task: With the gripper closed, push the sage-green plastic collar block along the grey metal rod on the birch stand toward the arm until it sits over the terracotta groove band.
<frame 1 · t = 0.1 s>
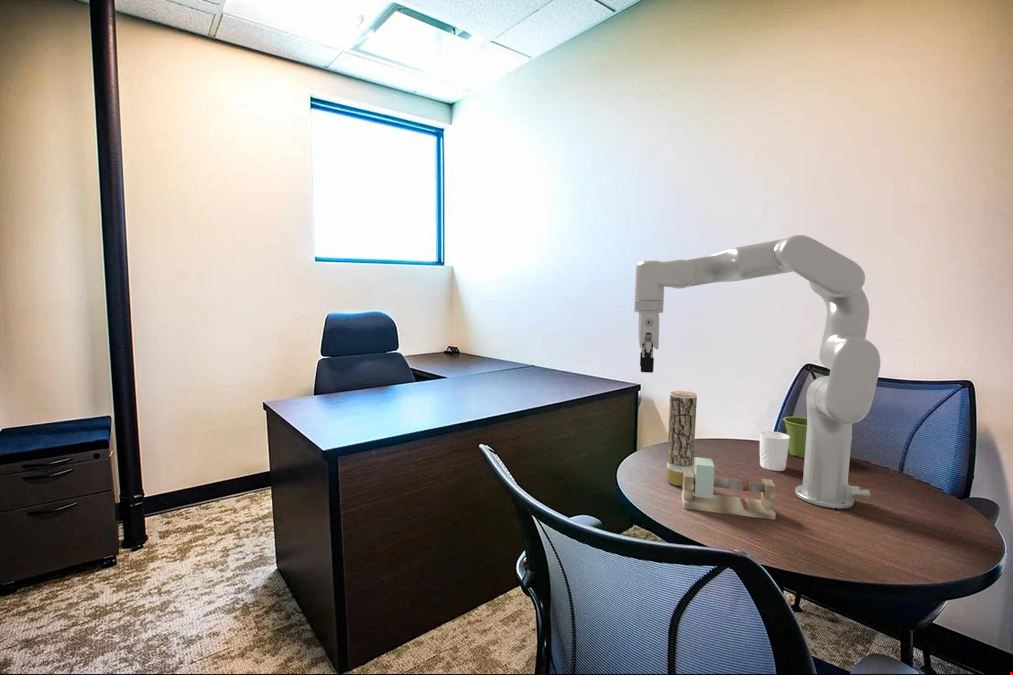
hand: (646, 369, 134), 31 cm above the table, tool pointing down, fingers open, 9 cm apart
collar: (703, 477, 120), point 7 cm above the table, slide at 0.0 cm
rod stand: (726, 507, 119), on the table
paper tube: (679, 483, 134), on the table
white cup: (772, 467, 147), on the table
plant pot: (801, 455, 158), on the table
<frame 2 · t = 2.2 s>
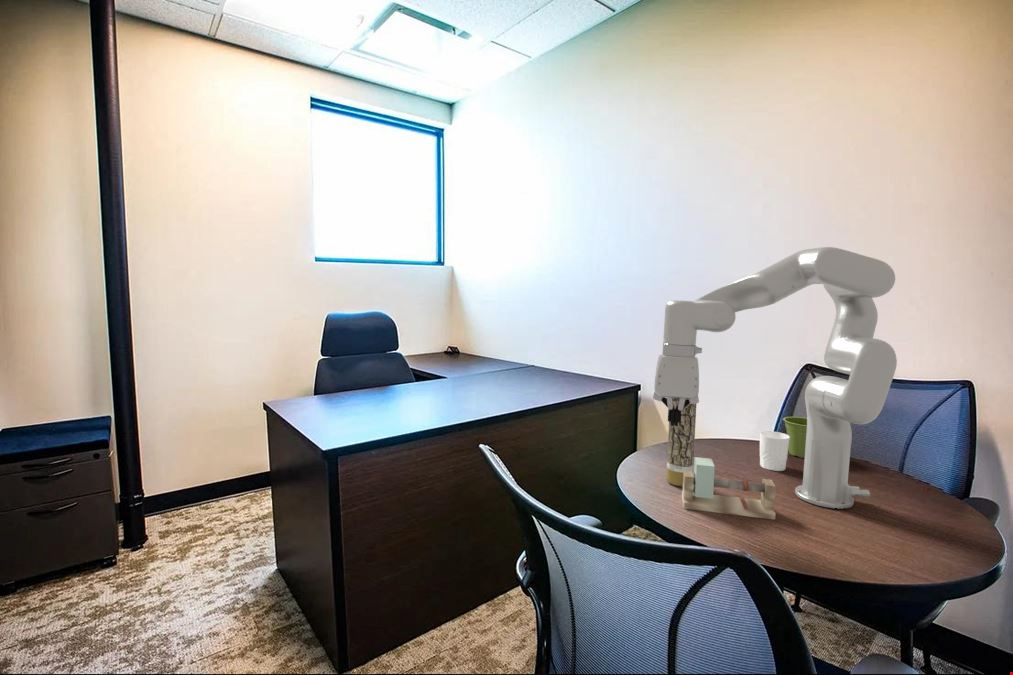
hand: (673, 424, 120), 20 cm above the table, tool pointing down, fingers closed
nothing on the table moved.
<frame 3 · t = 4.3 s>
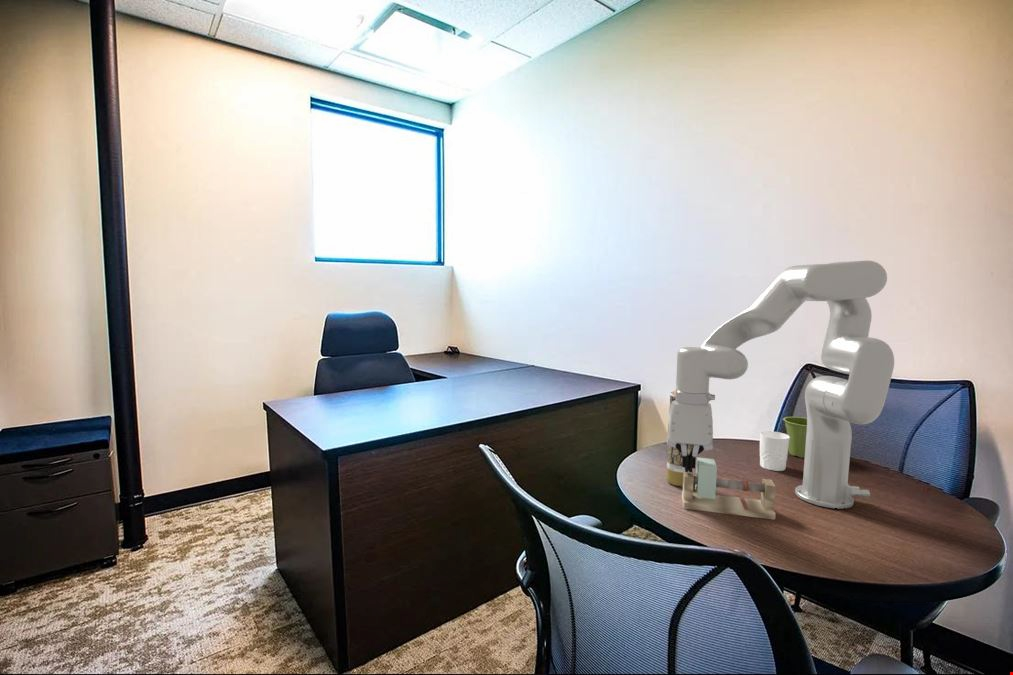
hand: (688, 470, 121), 8 cm above the table, tool pointing down, fingers closed
collar: (705, 477, 120), point 7 cm above the table, slide at 0.5 cm, touching gripper
everything else where it was.
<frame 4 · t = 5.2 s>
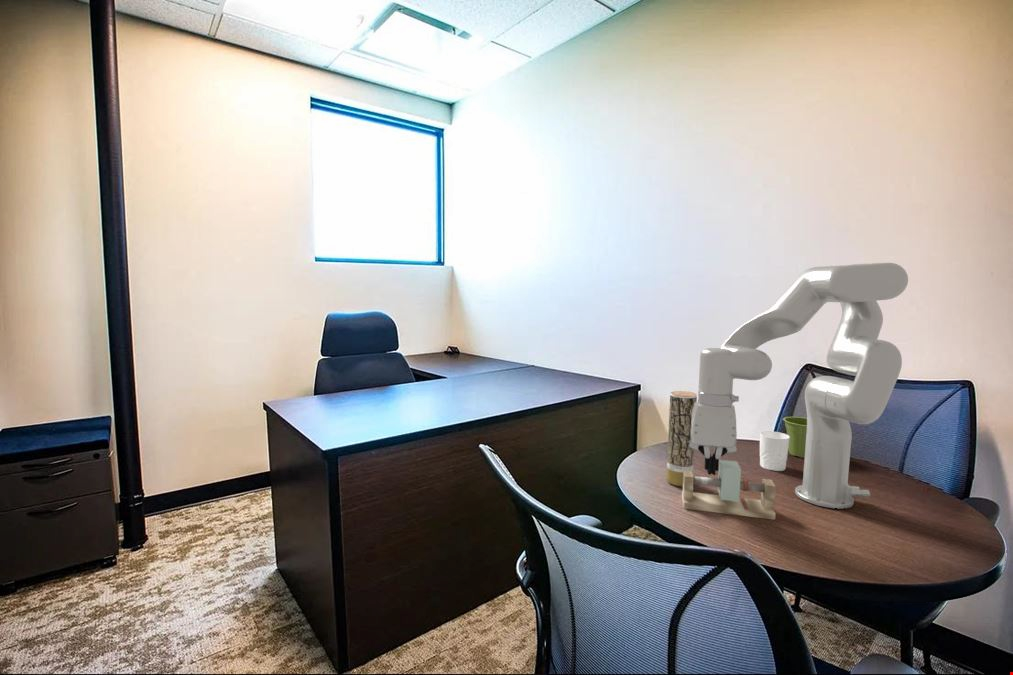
hand: (711, 472, 119), 8 cm above the table, tool pointing down, fingers closed
collar: (728, 480, 118), point 7 cm above the table, slide at 5.8 cm, touching gripper
everything else where it was.
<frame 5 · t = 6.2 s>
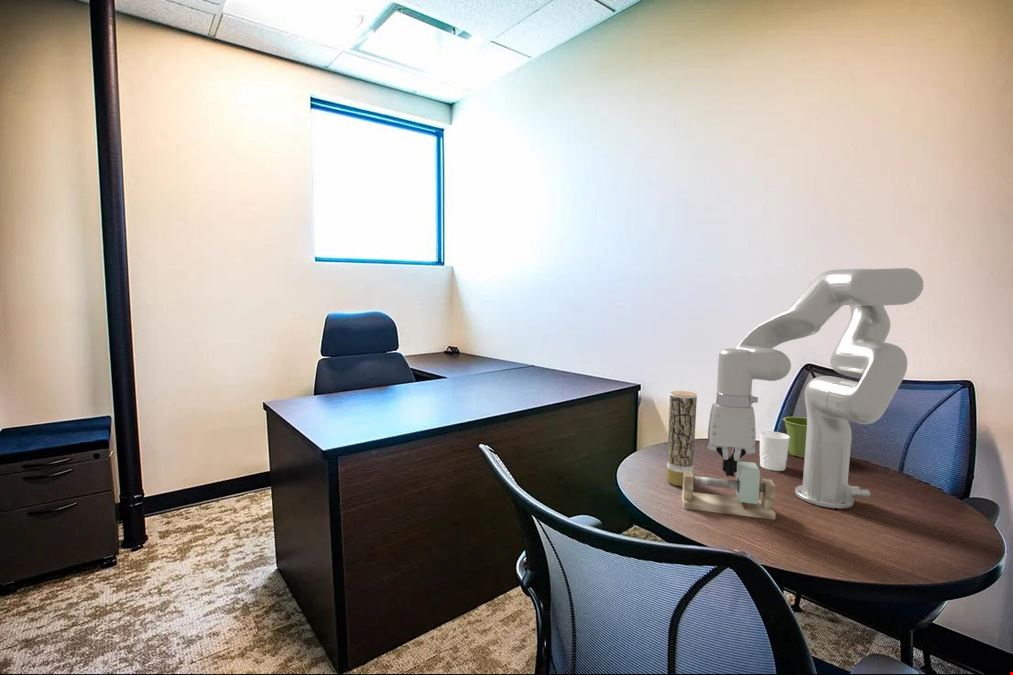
hand: (729, 474, 118), 8 cm above the table, tool pointing down, fingers closed
collar: (747, 482, 117), point 7 cm above the table, slide at 9.9 cm, touching gripper
everything else where it was.
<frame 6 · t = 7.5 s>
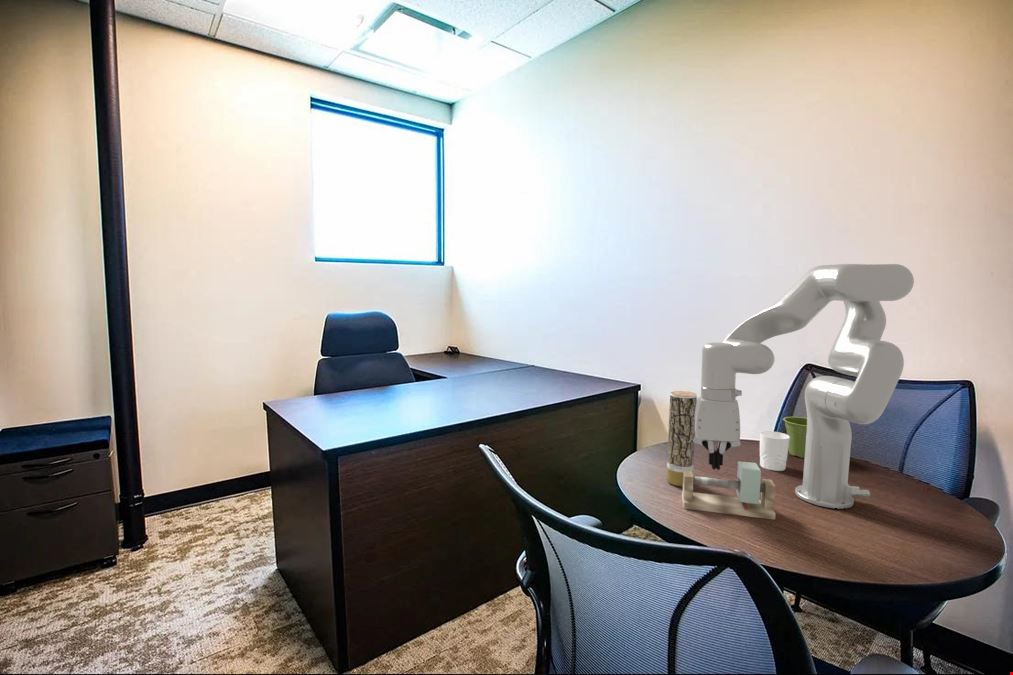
hand: (715, 467, 119), 10 cm above the table, tool pointing down, fingers closed
collar: (748, 482, 117), point 7 cm above the table, slide at 10.1 cm
everything else where it was.
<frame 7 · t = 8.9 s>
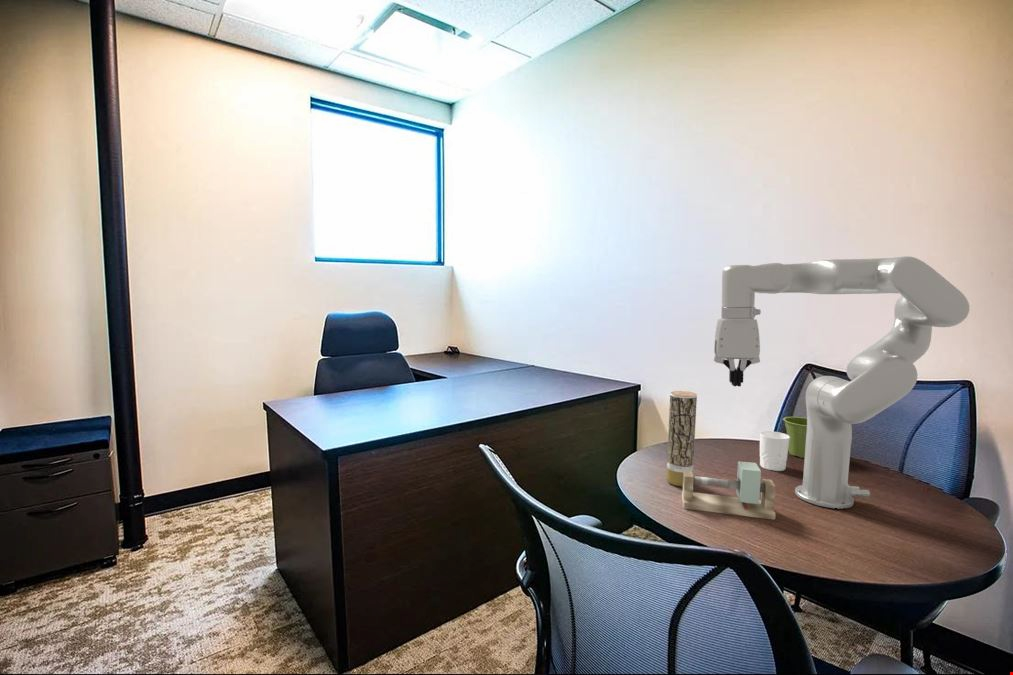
hand: (736, 385, 125), 29 cm above the table, tool pointing down, fingers closed
nothing on the table moved.
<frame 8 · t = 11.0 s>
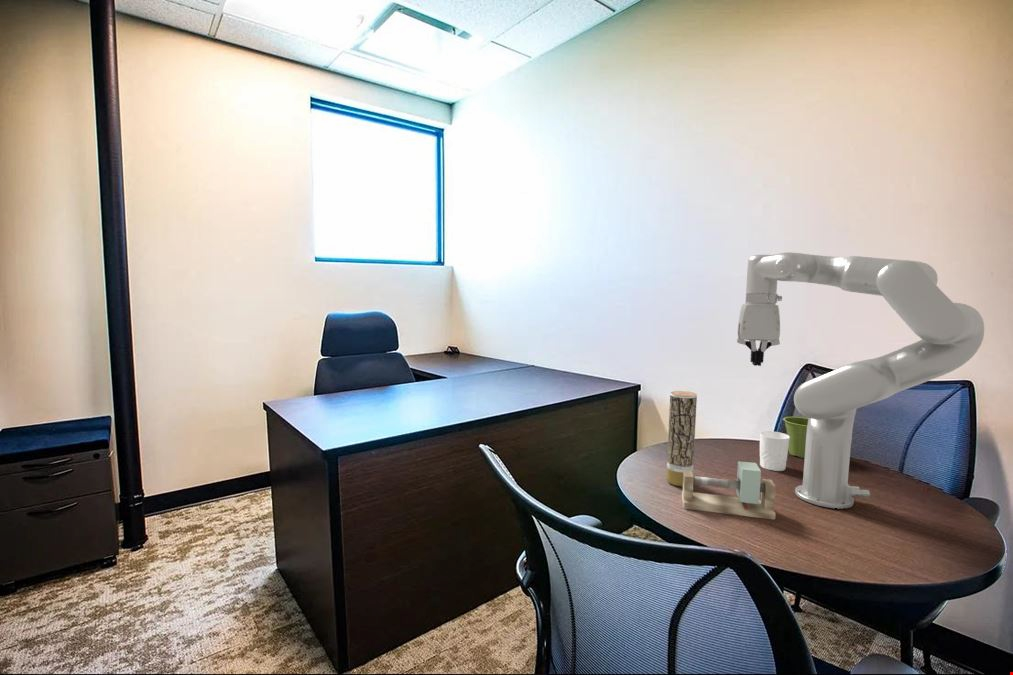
hand: (756, 364, 137), 32 cm above the table, tool pointing down, fingers closed
nothing on the table moved.
at the end: collar slide at 10.1 cm; the gripper is holding nothing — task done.
